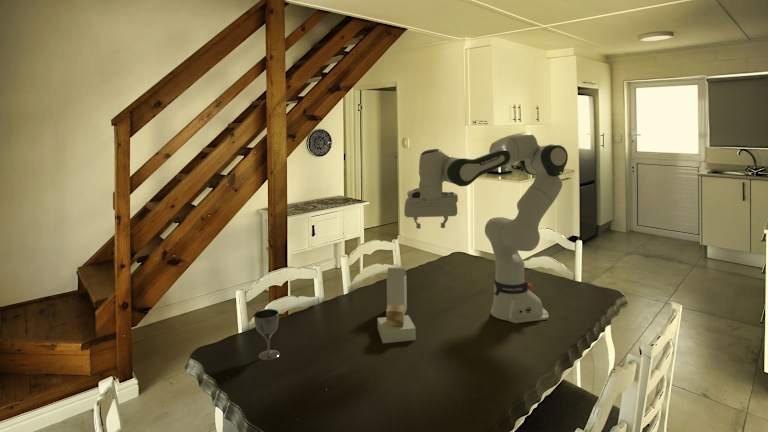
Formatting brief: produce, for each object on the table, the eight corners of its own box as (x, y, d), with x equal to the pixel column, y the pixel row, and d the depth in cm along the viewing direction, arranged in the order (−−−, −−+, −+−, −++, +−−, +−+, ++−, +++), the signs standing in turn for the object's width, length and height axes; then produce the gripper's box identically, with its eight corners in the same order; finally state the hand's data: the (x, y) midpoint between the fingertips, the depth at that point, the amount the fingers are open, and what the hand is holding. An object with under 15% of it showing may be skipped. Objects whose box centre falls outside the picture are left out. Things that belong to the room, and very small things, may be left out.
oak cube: (404, 320, 174) (403, 305, 173) (403, 327, 168) (402, 311, 167) (388, 319, 175) (387, 304, 173) (386, 326, 169) (386, 311, 168)
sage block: (408, 327, 180) (408, 315, 179) (415, 341, 168) (415, 328, 167) (377, 330, 178) (377, 317, 177) (382, 344, 166) (382, 331, 165)
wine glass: (269, 347, 164) (267, 307, 162) (285, 353, 160) (283, 312, 157) (252, 356, 158) (248, 315, 155) (268, 363, 153) (265, 320, 151)
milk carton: (404, 315, 190) (403, 271, 186) (387, 314, 191) (386, 270, 188) (406, 309, 197) (406, 265, 193) (390, 308, 198) (389, 265, 194)
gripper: (456, 190, 180) (455, 225, 183) (403, 191, 180) (404, 227, 182) (459, 192, 174) (459, 229, 177) (404, 194, 173) (405, 230, 176)
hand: (430, 228), depth 179 cm, fingers open, 8 cm apart
